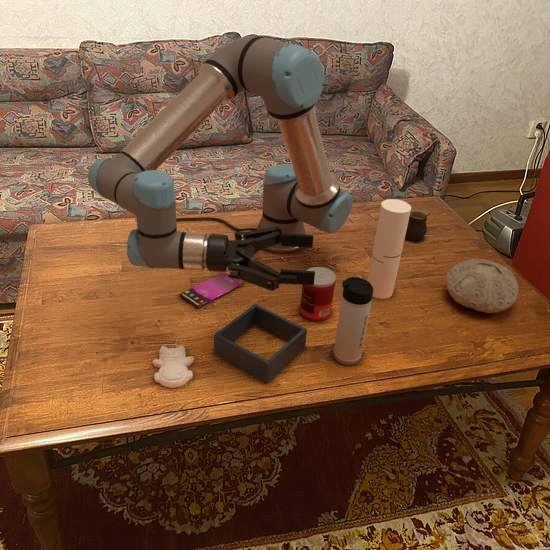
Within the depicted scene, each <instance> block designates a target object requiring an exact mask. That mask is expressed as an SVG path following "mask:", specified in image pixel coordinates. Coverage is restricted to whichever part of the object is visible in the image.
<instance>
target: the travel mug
mask: <svg viewBox="0 0 550 550" xmlns="http://www.w3.org/2000/svg"><path fill="white" fill-rule="evenodd" d="M341 287H342V288H343V289H342V294H341V300H340V305H339V306H340V307H339V312H338V313H339V314H338V319H337V326H336V333H335V339H334V347H333V352H332V356H333V358H334V360H336V362H338V363H339V364H341V365H345V366H354V365H357V364H358V363H359V362H361V359H362V355H363V349H364V344H365V339H366V334H367V328H368V323H369V318H370V312H371V307H372V301H373V290H374V289H373V287H372V286H371V284H370V282H368V281H367V279H364V278H362V277H357V276H351V277H350V276H349V277H347V278H346V279H345V280H342V283H341Z"/></svg>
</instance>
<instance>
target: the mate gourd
mask: <svg viewBox="0 0 550 550" xmlns="http://www.w3.org/2000/svg"><path fill="white" fill-rule="evenodd" d="M431 213H432V212H430V213H428V214H426V213H425V212H423V211H421V210H411V212H410V216H409V221H408V226H407V230H406V235H405V239H407V240H409V241H413V242H418V241H421V240H422V239H423V238H425V236H426V234H427V232H428V231H427V230H428V226H427V219H428V216H429V215H431Z"/></svg>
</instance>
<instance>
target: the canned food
mask: <svg viewBox="0 0 550 550" xmlns="http://www.w3.org/2000/svg"><path fill="white" fill-rule="evenodd" d="M305 271H315V279H314V285H304V284H301V285H302V286H301V296H300V306H299V311H300V314H301V316H302V317H303V318H304V319H306V320H308V321H311V322H322V321H324V320H327V319H328V318H329V317H330V315H331V314H332V308H333V301H334V294H335V289H336V287H335V286H336V279H337V276H336V274H335V272H334V271H333V270H331V269H329V268H327V267H324V266H314V267H309V268H308V269H306V270H305Z"/></svg>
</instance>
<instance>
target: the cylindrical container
mask: <svg viewBox="0 0 550 550" xmlns="http://www.w3.org/2000/svg"><path fill="white" fill-rule="evenodd" d="M411 211H412V206H411V204H409V203H408V202H407V201H404V200H402V199H396V198H387V199H384V200H382V201H381V203H380V209H379V214H378V218H377V219H378V220H377V224H376V230H375V235H374V241H373V246H372V252H371V259H370V263H369V268H368V274H367V279H366V280H367V281H368V282H370V284H371V286H372V287H373V289H374V290H373V296H372V298H375V299H381V300H385V299H389V298H390V297H392V296H393V294H394V289H395V284H396V280H397V275H398V270H399V268H400V267H399V266H400V262H401V257H402V252H403V248H404V243H405V240H406V237H405V235H406V230H407V226H408V221H409V216H410V212H411Z"/></svg>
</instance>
